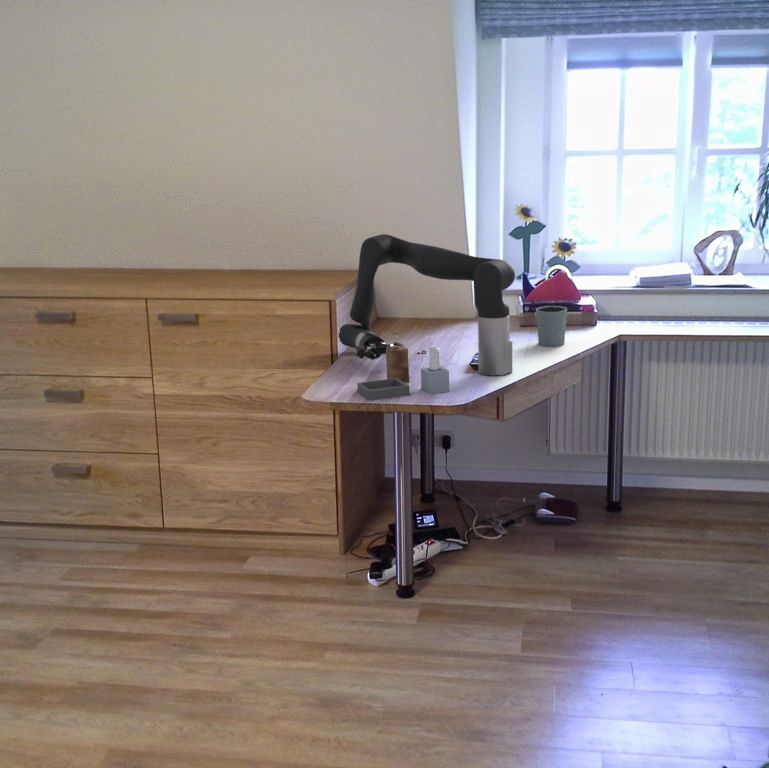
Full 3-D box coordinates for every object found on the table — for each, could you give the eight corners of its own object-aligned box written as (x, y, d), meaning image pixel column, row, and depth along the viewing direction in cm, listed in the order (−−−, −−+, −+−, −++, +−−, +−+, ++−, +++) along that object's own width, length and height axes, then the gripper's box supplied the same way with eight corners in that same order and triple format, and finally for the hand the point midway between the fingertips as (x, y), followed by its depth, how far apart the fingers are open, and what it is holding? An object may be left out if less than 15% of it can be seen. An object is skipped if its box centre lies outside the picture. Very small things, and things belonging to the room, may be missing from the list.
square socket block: (441, 386, 262) (440, 365, 261) (449, 391, 257) (448, 370, 255) (421, 388, 260) (420, 368, 259) (429, 394, 255) (428, 373, 253)
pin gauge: (437, 388, 260) (436, 347, 257) (441, 390, 258) (440, 348, 255) (429, 389, 259) (427, 348, 256) (432, 391, 257) (431, 349, 254)
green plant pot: (566, 340, 312) (567, 305, 308) (566, 347, 302) (567, 311, 299) (536, 340, 313) (536, 306, 310) (535, 347, 304) (535, 311, 301)
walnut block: (403, 378, 273) (401, 345, 270) (409, 382, 268) (407, 348, 265) (387, 380, 271) (385, 347, 268) (392, 384, 266) (391, 350, 264)
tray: (397, 386, 264) (397, 377, 264) (409, 394, 255) (409, 385, 255) (357, 391, 261) (357, 382, 260) (368, 400, 252) (368, 391, 251)
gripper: (347, 335, 288) (363, 345, 273) (390, 330, 293) (408, 340, 278) (349, 358, 290) (364, 369, 275) (391, 353, 295) (409, 364, 280)
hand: (386, 354), depth 277 cm, fingers open, 8 cm apart
